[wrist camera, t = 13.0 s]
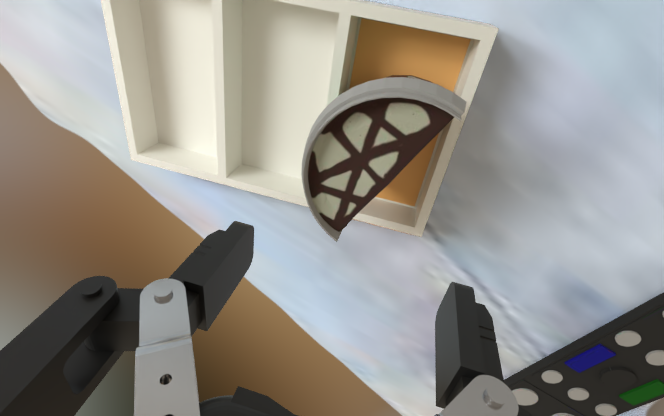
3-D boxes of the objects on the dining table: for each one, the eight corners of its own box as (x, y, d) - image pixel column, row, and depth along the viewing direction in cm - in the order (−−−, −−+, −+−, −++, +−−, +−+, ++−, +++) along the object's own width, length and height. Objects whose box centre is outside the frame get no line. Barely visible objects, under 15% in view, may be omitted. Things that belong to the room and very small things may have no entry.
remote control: (465, 397, 48) (466, 412, 46) (700, 265, 31) (715, 281, 29) (531, 435, 48) (534, 451, 47) (794, 328, 32) (814, 346, 30)
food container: (395, 18, 25) (377, 31, 17) (457, 74, 26) (469, 112, 18) (305, 141, 32) (260, 193, 24) (357, 182, 33) (332, 246, 24)
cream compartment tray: (158, 147, 38) (131, 162, 34) (131, -43, 28) (91, -48, 25) (421, 215, 34) (420, 239, 31) (490, 23, 25) (498, 28, 22)
